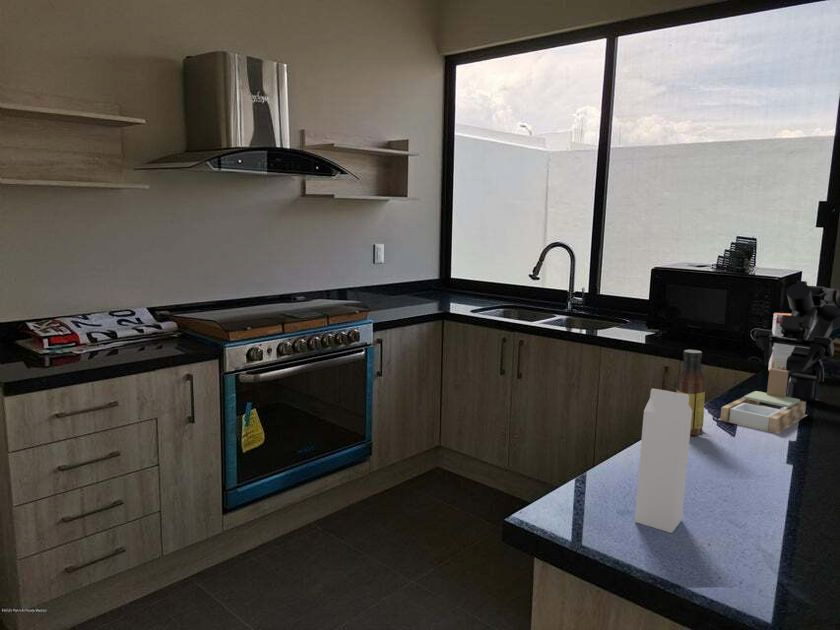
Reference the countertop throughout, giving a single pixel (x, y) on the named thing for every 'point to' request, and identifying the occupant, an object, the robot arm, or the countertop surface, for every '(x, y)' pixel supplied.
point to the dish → (752, 415)
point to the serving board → (776, 421)
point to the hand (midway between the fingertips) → (783, 367)
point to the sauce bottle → (693, 388)
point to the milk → (663, 460)
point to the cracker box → (780, 345)
